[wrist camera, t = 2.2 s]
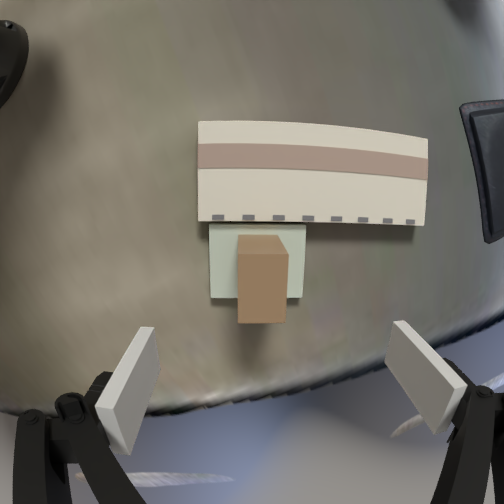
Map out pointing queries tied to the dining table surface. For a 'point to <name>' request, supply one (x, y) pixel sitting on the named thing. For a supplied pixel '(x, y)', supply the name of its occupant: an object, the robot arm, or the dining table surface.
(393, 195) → the pad
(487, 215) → the wallet
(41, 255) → the dining table surface
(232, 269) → the stub
